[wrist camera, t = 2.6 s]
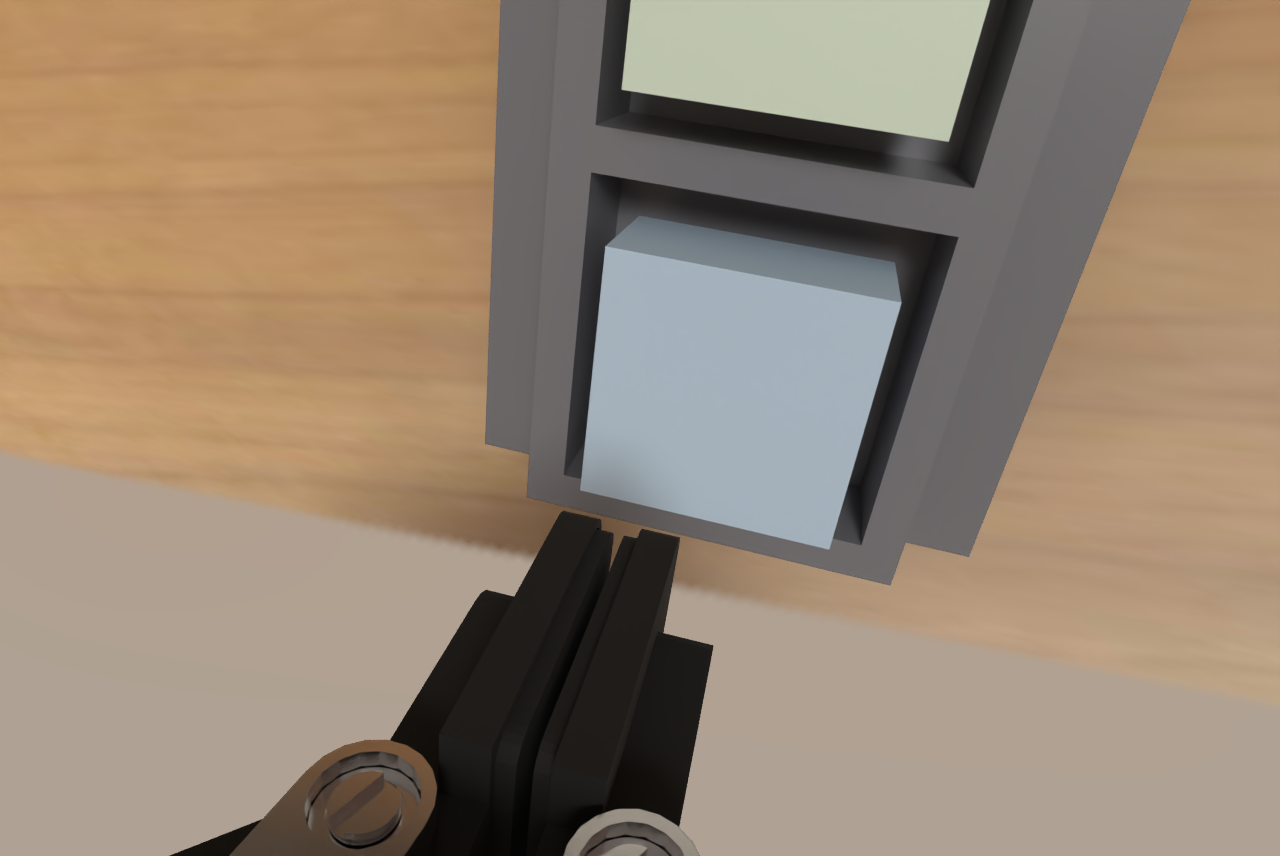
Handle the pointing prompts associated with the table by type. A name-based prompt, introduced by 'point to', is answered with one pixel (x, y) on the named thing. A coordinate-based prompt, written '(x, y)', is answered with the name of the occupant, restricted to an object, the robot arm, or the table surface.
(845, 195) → the grey compartment tray
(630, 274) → the blue key
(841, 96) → the sage key
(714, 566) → the table surface
